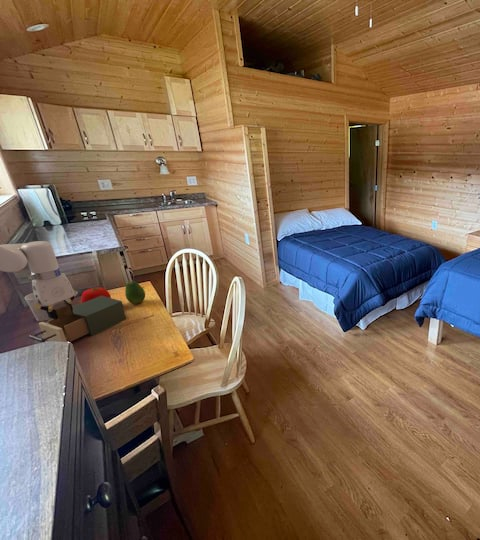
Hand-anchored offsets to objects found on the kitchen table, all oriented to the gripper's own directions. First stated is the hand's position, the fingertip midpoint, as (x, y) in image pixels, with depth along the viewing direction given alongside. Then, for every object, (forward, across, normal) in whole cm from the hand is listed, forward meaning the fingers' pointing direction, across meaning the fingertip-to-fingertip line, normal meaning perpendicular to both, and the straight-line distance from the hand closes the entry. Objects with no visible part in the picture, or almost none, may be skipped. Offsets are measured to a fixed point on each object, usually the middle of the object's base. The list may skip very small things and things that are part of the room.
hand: (61, 315), depth 120 cm
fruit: (+11, +31, +3) cm, 33 cm away
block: (0, 0, 0) cm, 0 cm away
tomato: (+11, +20, +14) cm, 27 cm away
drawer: (+10, -1, 0) cm, 10 cm away
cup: (+11, +5, +24) cm, 27 cm away
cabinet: (+11, +11, 0) cm, 16 cm away
